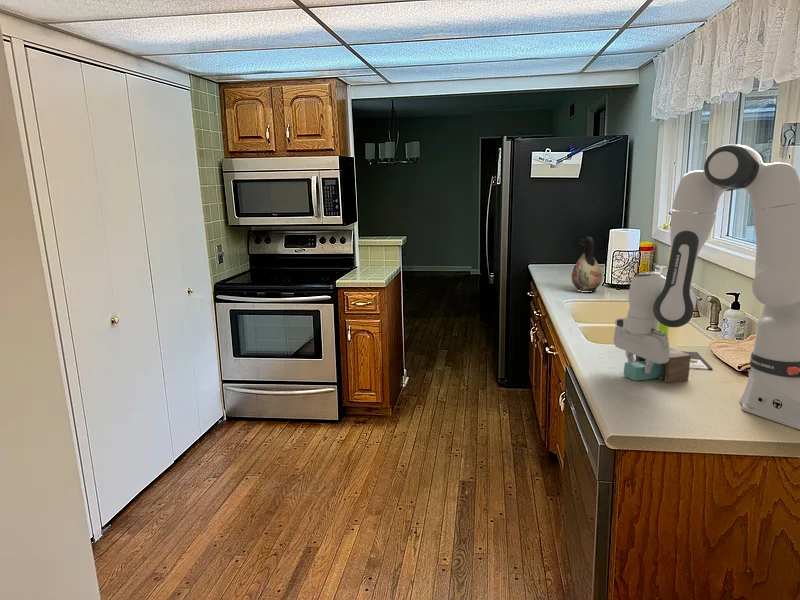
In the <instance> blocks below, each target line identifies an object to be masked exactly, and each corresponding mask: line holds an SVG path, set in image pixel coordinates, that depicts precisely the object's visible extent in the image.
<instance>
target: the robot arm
mask: <svg viewBox="0 0 800 600" xmlns="http://www.w3.org/2000/svg"><path fill="white" fill-rule="evenodd" d="M741 189H744V190H746V191H747V192H748V195H749V197H750V201H751V209H752V216H753V223H754V232H755V239H756V241H755V243H756V250H755V252H756V253H755V266H754V268H755V269H754V278H753V281H752V284H751V285H752V286H751V287H752V289H751V290H752V293H753V295H754V297H755V298H756V300H757V301H759V302H760V304H763V308H762V312H761V315H760V318H758V321H757V322H756V323H757V324H756V329H755V330H756V332H755V338H754V345H753V350H752V351H751V354H750V359H749V361H750V362H749V366H750V371H749V375H748V379H747V381H746V385H745V388H744V391H743V394H742V395H741V398H740V399H739V402H740V404H741V405H742V406H741V410H742V411H743V412H746V413H750V414H752V415H755V416H758V417H760V418H761V417H762V418H765V419H766V420H770V421H773V422H775V423H778V424H782V425H784V426H788V427H790V428H793V429H796V430H800V178H799V175H798V173H797V170H796V168H795V167H794V166H793V165H792V164H789V163H786V162H773V163H772V162H771V163H766V160H765V157H764V156H763V154H762V153H761V152H760V151H758V150H756V149H755V148H752V147H749V146H747V145H743V144H733V143H732V144H729V143H728V144H723V145H721V146H719V147H717V148H715V149H714V150H712V151H711V152H710V153H709V154H708V155H707V157H706V159H705V162H704V165H703V169H702V170H700V169H699V170H693V171H689V172H687V173H685V174H684V175H683V176H681V178H680V181H679V184H678V186H677V189H676V192H675V195H674V199H673V203H672V208H671V216H670V228H669V229H670V231H669V233H670V256H669V261H668V266H667V272H666V276H664V274H663V275H662V273H661V272H659V271H644V272H640V273H638V274H635V275H634V276H633V277H632V279H631V282H630V285H629V291H628V292H629V293H628V304H629V306H628V307H629V308H628V311H627V314H626V315H627V316H626V317H620V318H615V320H614V324H615V326H616V327H615V329H614V332H613V344H614V346H615V348H618V349H620V350H622V351H625V357H626V359H627V363H628V362H636V361H635V360H636V359H635V357H634V355H635V356H636V355H637V356H639V357H642V358H644V359H646V361H645V362H646V365H645V366H643V368H642V369H643V370H642V372H644V373H646V374H647V373H650V371H651V367H652V366H653V364H654V363H656V364H665V363H667V362H668V361H669V347H670V342H669V337H667V336H666V335H665V333H664V332H660V331H658V326H659V322H660V323H661V324H663V325H665V326H668V328H680V327H682V326H684V325H687V324H688V323H689V322H690V321H691V319H692V318H693V315H694V311H695V308H696V305H697V303H698V302H697V301H698V300H697V299H698V298H697V295H696V292H695V291H694V290H692V288H691V284H692V280H693V275H694V270H695V265H696V262H697V259H698V256H699V254H700V252H701V250H702V248H703V247H704V245H705V244H706V242H707V240H708V238H709V237H710V234H711V232H712V230H713V226H714V223H715V220H716V215H717V210H718V204H719V201H720V197H721V196H722V194H723V193H725V192H729V191H730V192H731V191H736V190H741Z"/></svg>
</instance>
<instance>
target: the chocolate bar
mask: <svg viewBox="0 0 800 600" xmlns="http://www.w3.org/2000/svg"><path fill="white" fill-rule="evenodd" d="M680 351H681V350H680ZM681 352H684V353H686V354H689V355H691V358H690V368H689V370H700V371H701V370H704V371H713V369H714V368H712V366H711V365H710V364H709V363H708V362H707V361H706V360H705V359H704V357H702V356H701V354H699V352H697V351H684V350H682V351H681Z"/></svg>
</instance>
